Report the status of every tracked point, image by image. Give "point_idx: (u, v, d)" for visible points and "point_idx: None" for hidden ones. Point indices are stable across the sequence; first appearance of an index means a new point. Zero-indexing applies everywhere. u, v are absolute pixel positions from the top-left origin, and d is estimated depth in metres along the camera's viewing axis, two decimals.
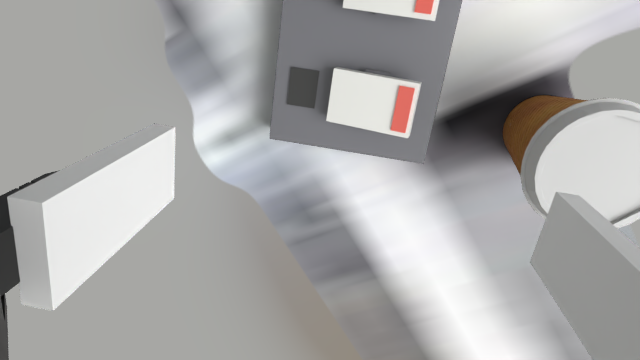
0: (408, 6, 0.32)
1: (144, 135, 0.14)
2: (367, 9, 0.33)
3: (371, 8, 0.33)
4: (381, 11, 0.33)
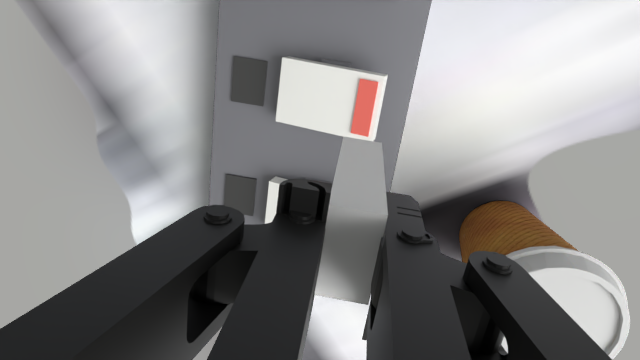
0: (344, 126, 0.29)
1: (350, 147, 0.16)
2: (301, 125, 0.30)
3: (305, 124, 0.30)
4: (316, 128, 0.30)
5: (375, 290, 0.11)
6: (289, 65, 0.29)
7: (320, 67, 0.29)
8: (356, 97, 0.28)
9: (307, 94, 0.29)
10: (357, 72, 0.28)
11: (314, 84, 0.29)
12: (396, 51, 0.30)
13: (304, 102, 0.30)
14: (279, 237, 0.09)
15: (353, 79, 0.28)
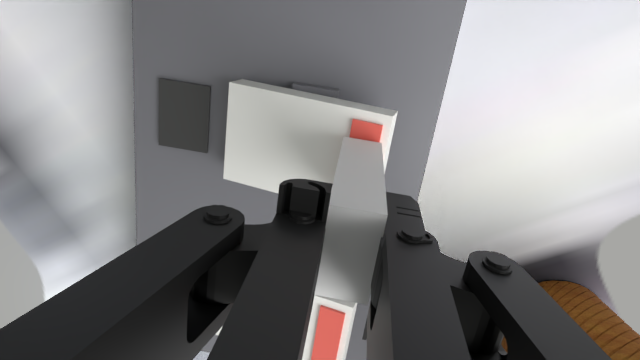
0: None
1: (350, 147, 0.16)
2: (262, 186, 0.19)
3: (268, 186, 0.19)
4: None
5: (375, 290, 0.11)
6: (240, 94, 0.18)
7: (289, 99, 0.18)
8: None
9: (270, 140, 0.19)
10: (347, 109, 0.17)
11: (280, 125, 0.18)
12: (411, 72, 0.19)
13: (265, 152, 0.19)
14: (279, 237, 0.09)
15: (342, 119, 0.17)
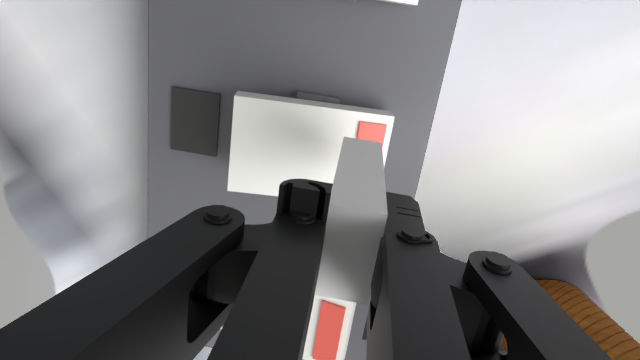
0: None
1: (350, 147, 0.16)
2: (270, 193, 0.20)
3: (276, 191, 0.20)
4: None
5: (375, 290, 0.11)
6: (247, 107, 0.19)
7: (298, 108, 0.19)
8: None
9: (278, 148, 0.19)
10: (354, 113, 0.19)
11: (289, 133, 0.19)
12: (407, 81, 0.20)
13: (273, 160, 0.20)
14: (279, 237, 0.09)
15: (349, 122, 0.19)
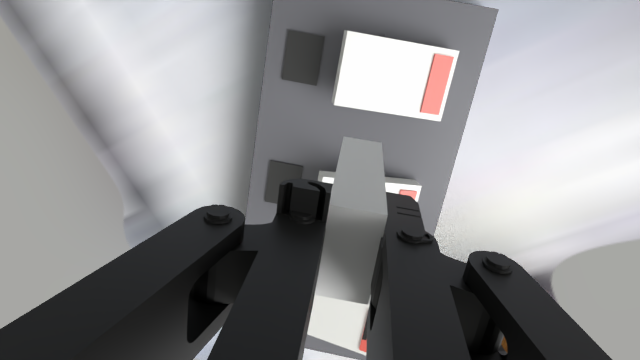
0: None
1: (350, 148, 0.16)
2: None
3: None
4: None
5: (375, 290, 0.11)
6: None
7: None
8: None
9: None
10: (397, 184, 0.29)
11: None
12: (430, 163, 0.30)
13: None
14: (279, 237, 0.09)
15: (393, 190, 0.29)
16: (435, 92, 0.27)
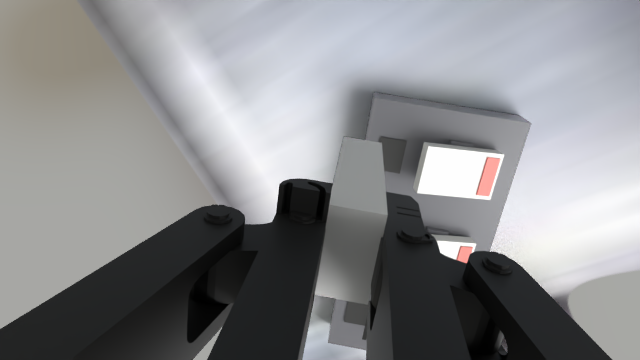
0: None
1: (350, 147, 0.16)
2: None
3: None
4: None
5: (375, 290, 0.11)
6: None
7: None
8: (457, 257, 0.42)
9: None
10: (458, 243, 0.41)
11: None
12: (480, 224, 0.42)
13: None
14: (279, 237, 0.09)
15: (455, 247, 0.41)
16: (487, 181, 0.39)
